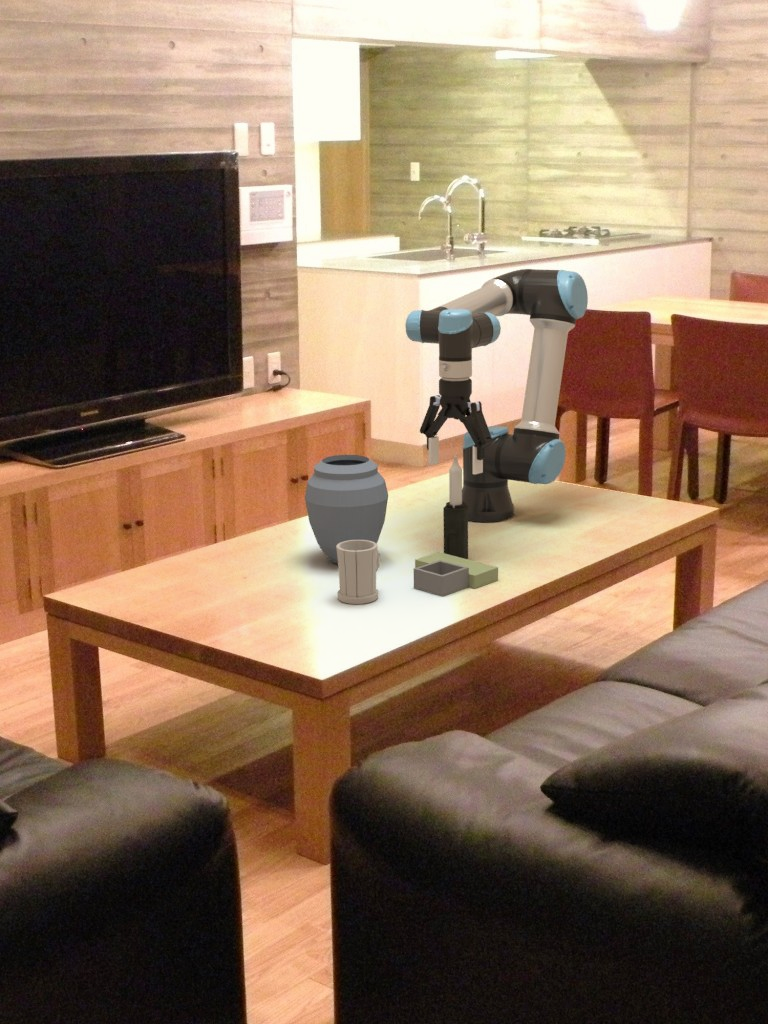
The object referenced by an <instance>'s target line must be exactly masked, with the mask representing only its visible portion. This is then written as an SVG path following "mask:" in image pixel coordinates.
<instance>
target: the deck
mask: <svg viewBox="0 0 768 1024" xmlns="http://www.w3.org/2000/svg"><path fill="white" fill-rule="evenodd" d="M498 581H499V567H498V566H494V565H490V564H486V563H482V562H479V561H475V560H471V559H469V558H467V559H464V558H460V557H456V556H452V555H449V554H445V553H444V552H440V551H438V552H434V553H431V554H428V555H425V556H422V557H419V558H415V560H414V568H413V589H416V590H419V591H423V592H426V593H430V594H433V595H436V596H440V597H444V596H448V595H450V594H453V593H454V594H455V593H456V592H459V591H462V590H465V589H467V588H471V589H477V588H480V587H483V586H485V585H488V584H491V582H492V583H494V582H498Z"/></svg>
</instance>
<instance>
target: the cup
mask: <svg viewBox="0 0 768 1024" xmlns="http://www.w3.org/2000/svg"><path fill="white" fill-rule="evenodd" d="M378 546H379V545H378V543H377V544H376V543H375V542H372V541H368V540H349V541H344V542H341V543H339V544H337V546H336V548H337V557H338V564H337V565H338V580H339V581H338V583H339V590H338V591H337V599H338V600H339V601H341V602H342V603H345V604H350V605H366V604H369V603H370V604H371V603H373V602H375V601H376V600H377V599H378V598H379V590H378V589H377V572H378V571H379V568H380V557H381V555H380V552H379V550H378Z"/></svg>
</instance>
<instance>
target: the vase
mask: <svg viewBox="0 0 768 1024" xmlns="http://www.w3.org/2000/svg"><path fill="white" fill-rule="evenodd" d="M378 467H379V466H378V464H377V463H376V462H374V460H372V459H370V458H369V457H367V456H364V455H358V454H337V455H330V456H327V457H324V458H322V459H321V460H320V461H319V462H317V463H316V464H315V465H314V466H313V472H314V473H312V475H311V476H310V478H309V479H308V480H307V482H306V488H305V494H304V501H305V506H306V511H307V516H308V522H309V525H310V527H311V531H312V532H313V534H314V538H315V541H316V543H317V544H318V546H319V547H320V549H321V551H322V552H323V554H324V556H326V558H327V559H328V560H329V561H330V562H332V563H334V564H336V565H338V557H337V548H336V546H337V544H339V543H341V542H344V541H349V540H368V541H372V542H375V543H376V544H377V545H378V542H379V538H380V537H381V533H382V530H383V526H384V525H385V521H386V514H387V508H388V501H389V500H388V499H389V493H388V492H389V491H388V488H387V484H386V480H385V478H384V476H382V475H381V473H380V472H379V471H378V470H379V469H378Z"/></svg>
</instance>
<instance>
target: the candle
mask: <svg viewBox="0 0 768 1024" xmlns="http://www.w3.org/2000/svg"><path fill="white" fill-rule="evenodd" d="M451 464H452V465H451V467H449V470H448V471H449V472H448V473H449V475H448V476H449V481H448V483H449V484H448V485H449V488H448V489H449V495H448V496H449V501H448V502H446V503H445V506H444V507H443V512H442V513H443V553H445V554H449V555H452V556H456V557H460V558H464V559H469V520H468V505H466V503H464V502H462V489H463V468H461V466H460V463H459V460H458V455H456V454H455V455H454V456H453V461H452V463H451Z"/></svg>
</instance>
